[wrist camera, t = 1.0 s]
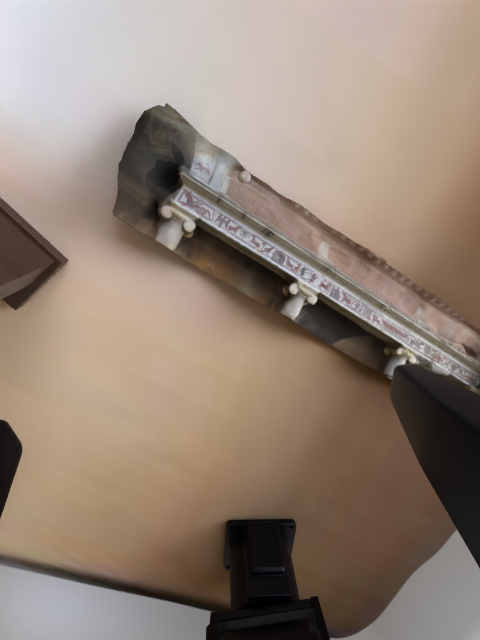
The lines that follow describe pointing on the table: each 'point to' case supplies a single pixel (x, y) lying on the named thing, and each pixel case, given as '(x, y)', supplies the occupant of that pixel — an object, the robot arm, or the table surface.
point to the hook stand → (23, 258)
